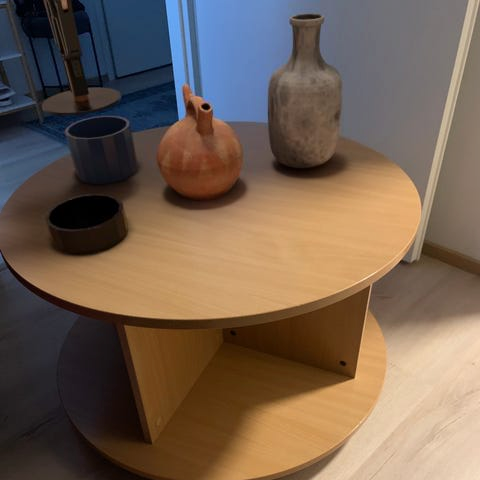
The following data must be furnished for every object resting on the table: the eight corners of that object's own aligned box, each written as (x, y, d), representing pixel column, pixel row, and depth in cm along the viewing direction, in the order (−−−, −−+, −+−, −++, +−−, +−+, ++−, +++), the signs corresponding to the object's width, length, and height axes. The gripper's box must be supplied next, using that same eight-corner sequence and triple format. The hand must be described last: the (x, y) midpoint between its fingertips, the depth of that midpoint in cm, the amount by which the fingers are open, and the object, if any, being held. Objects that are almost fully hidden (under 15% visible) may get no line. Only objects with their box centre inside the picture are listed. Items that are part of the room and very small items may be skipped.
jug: (155, 179, 116) (139, 87, 103) (230, 165, 120) (224, 74, 107) (172, 215, 103) (155, 115, 90) (255, 198, 106) (251, 99, 93)
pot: (86, 189, 114) (74, 144, 107) (70, 167, 124) (58, 124, 117) (146, 173, 119) (138, 129, 112) (126, 153, 128) (117, 111, 122)
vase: (273, 181, 112) (272, 28, 92) (264, 153, 124) (261, 12, 105) (345, 174, 112) (358, 21, 93) (328, 147, 125) (337, 6, 105)
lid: (52, 124, 94) (37, 72, 88) (36, 103, 105) (21, 55, 99) (132, 107, 99) (122, 56, 93) (108, 88, 110) (98, 41, 104)
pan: (63, 263, 91) (55, 239, 88) (46, 229, 101) (38, 206, 98) (138, 239, 96) (133, 216, 93) (114, 209, 106) (109, 187, 103)
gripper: (76, -54, 81) (109, 99, 96) (54, -58, 92) (87, 79, 107) (28, -49, 78) (70, 107, 94) (12, -54, 89) (52, 86, 104)
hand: (79, 92), depth 100 cm, fingers closed on lid, 3 cm apart
